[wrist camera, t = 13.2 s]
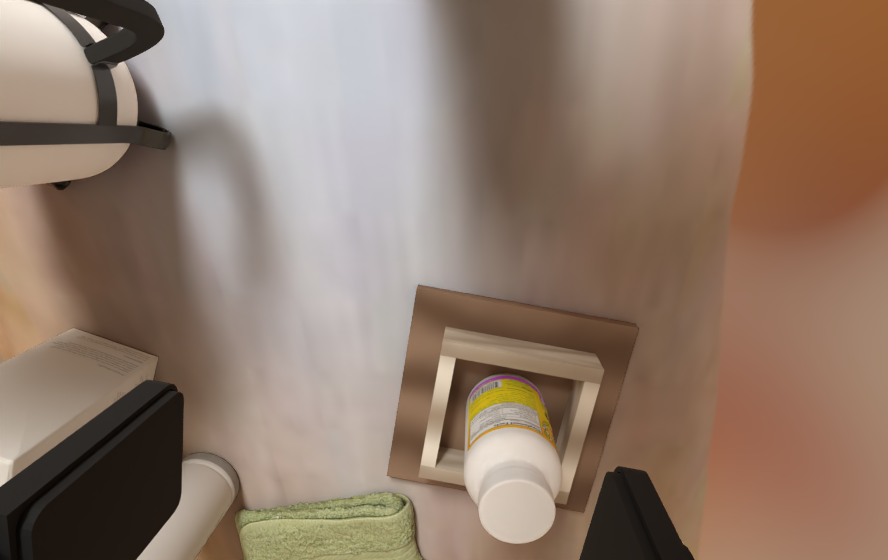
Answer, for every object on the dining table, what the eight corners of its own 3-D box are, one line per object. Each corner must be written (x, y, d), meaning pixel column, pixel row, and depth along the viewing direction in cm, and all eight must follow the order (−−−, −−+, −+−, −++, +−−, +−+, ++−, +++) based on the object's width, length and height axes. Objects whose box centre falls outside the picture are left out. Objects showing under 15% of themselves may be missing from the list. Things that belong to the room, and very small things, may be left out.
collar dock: (418, 284, 41) (412, 299, 38) (635, 323, 41) (651, 343, 37) (388, 468, 46) (380, 498, 43) (581, 504, 46) (591, 538, 42)
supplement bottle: (533, 447, 44) (554, 569, 31) (458, 430, 44) (451, 545, 31) (553, 379, 42) (586, 480, 30) (476, 361, 42) (475, 455, 30)
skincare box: (63, 383, 46) (-135, 502, 31) (73, 321, 44) (-131, 415, 29) (150, 415, 47) (-4, 547, 32) (164, 354, 45) (8, 464, 30)
